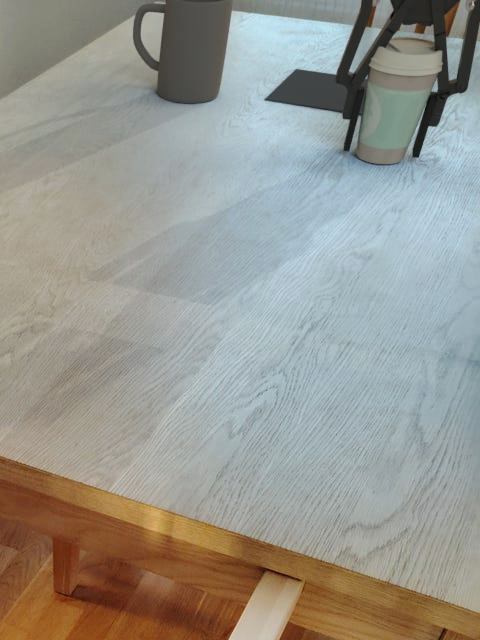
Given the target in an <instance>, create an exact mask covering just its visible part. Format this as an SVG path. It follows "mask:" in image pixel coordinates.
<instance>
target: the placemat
mask: <svg viewBox="0 0 480 640" xmlns="http://www.w3.org/2000/svg"><path fill="white" fill-rule="evenodd" d="M335 79H336V73H335V74H334V73H327V72H320V71H313V70H306V69H299V68H295V69H294V70H293V71H292V72H291V73H290V74H289V75H288V76H287V77H286V78H285V79H284V80H283V81H282V82H281V83H280V84H279V85H277V87H276V88H275V89H273V90H272V91H271V92H270V93H269V94H268V95H267V96H266V97H265V98H264V101H268V102H275V103H282V104H287V105H295V106H301V107H307V108H313V109H319V110H326V111H332V112H333V111H334V112H340V113H343V108H344V104H345V99H346V95H347V88H346V87H345V86H343V85H342V84H337V83H336V81H335ZM366 83H367V78H365V80H364V81H363V83H362V85H361V86H365V90H366ZM364 96H365V91H364ZM364 96H363V100H362V104H361V108H360V112H359V116H362V109H363V103H364Z"/></svg>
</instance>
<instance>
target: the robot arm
mask: <svg viewBox="0 0 480 640" xmlns="http://www.w3.org/2000/svg"><path fill="white" fill-rule="evenodd" d="M389 1H390V4H391V7H392V11H391V13H390V14H389V16H388V18H387V19H386V21H385V24H384V25H383V27H381V29H380V31H379V33H378V34H377V36H376V38H375V39H374V41H373V42H372V44H371V46H369V48H368V50H367V52H366V53H365V54H364V56H363V57H362V59H361V61H360V63H359V64H358V66H357V67H356V69H355V70H354V72H351V71H350V70H351V66H352V65H353V62H354V59H355V57H356V54H357V51H358V49H359V46H360V44H361V42H362V41H361V40H362V38H363V35H364V33H365V30H366V28H367V26H368V22H369V20H370V17H371V14H372V9H373V7H377V6H378V5H379V4H380V2H381V0H361V1H360V8H359V11H358V12H357V13H358V14H357V15H356V19H355V22H354V24H353V27H352V30H351V32H350V35H349V37H348V40H347V43H346V46H345V48H344V51H343V53H342V56H341V59H340V62H339V64H338V67H337V69H336V73H335V75H336V79H335V81H336V83H337V84H342V85H343V86H345V87H346V88H347V95H346V99H345V104H344V108H343V112H341V116H342V120H348V121H349V123H348V127H347V130H346V135H345V137H344V138H345V139H344V142H343V149H342V151H343V152H350V150H351V147H352V143H353V139H354V136H355V135H354V134H355V131H356V127H357V124H358V119H359V116H360V115H359V112H360V108H361V104H362V100H363V96H364V91H365V86H361V85H362V83H363V81H364V80H365V79H367V77H368V74H369V72H370V70H371V67H370V66H369V64H370V62H371V58H373V57H374V55H375V53H376V51H377V49H378V47H384V48H386V46H387V45H388V43H389V41H390V40H391V38H392V37H394V35H395V34H397V32H398V30H399V29H400V27H401V26H403V25H404V26H413V25H417V24H418V25H420V26H423V27H433V28H432V29H433V41H434V42H435V52H436V51H438V50H440V51H442V63H443V65H442V71H440V72H438V75H437V78H436V81H437V82H436V83H437V90H436V91H431V93H430V96H429V98H428V100H427V103H426V105H425V108H424V110H423V113H422V115H421V118H420V123H419V127H418V130H417V133H416V136H415V139H414V142H413V146H412V151H411V152H412V153H411V155H412V158H415V159H419V158H420V157H421V156H420V155H421V152H422V149H423V145H424V142H425V139H426V136H427V133H428V131H429V127H433V128H437V127H438V125H439V124H440V122H441V119H442V116H443V113H444V109H445V107H446V103H447V100H448V99H449V98H450V97H451V96H453V95H456V94H464V93H465V92H466V91H468V88H469V83H470V78H471V73H472V68H473V62H474V57H475V51H476V47H477V40H478V35H479V30H480V0H465V3H464V4H465V10H466V11H467V12H468V13H467V18H466V22H465V27H464V33H463V39H462V45H461V51H460V55H459V56H460V57H459V61H458V67H457V73H456V78H453V79H450V76H449V60H448V59H449V58H448V45H447V31H446V30H447V29H446V15H447V14H448V13H449V12H450V11H452V9H454V7H455V6H456V5H457V4H458V3H459V2H460V1H461V0H389Z"/></svg>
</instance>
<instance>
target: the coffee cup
mask: <svg viewBox="0 0 480 640" xmlns="http://www.w3.org/2000/svg"><path fill="white" fill-rule="evenodd" d="M442 65H443V63H442V51H440V50H438V51H436V52H435V42H434V40H431V39H429V38H422V37H415V36H393V37H392V38H391V40H390V41H389V43H388V45H387V46H386V48H384V47H378V49H377V51H376V53H375V55H374V57H373V58H371V62H370V64H369V66H370V67H371V70H370V72H369V74H368V75H367V77H366V79H367V83H366V90H365V96H364V103H363V109H362V115H360V124H359V128H358V129H359V130H358V137H357V143H356V150H355V156H356V157H357V158H358V159H360V160H361V161H364V162H367V163H370V164H375V165H376V164H377V165H394V164H398V163H400V162H402V161H403V160H404V158H405V156H406V154H407V151H408V149H409V146H410V144H411V142H412V140H413V137H414V134H415V132H416V129H417V127H418V125H419V122H420V121H421V118H422V116H423V113H424V110H425V106H426V103H427V100H428V98H429V96H430V93H431V92H433V91H432V90H433V88H434V86H435V84H436V81H437V75H438V72H440V71H442Z"/></svg>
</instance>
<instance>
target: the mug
mask: <svg viewBox="0 0 480 640" xmlns="http://www.w3.org/2000/svg"><path fill="white" fill-rule="evenodd" d="M233 4H234V0H165V3H155V2H152V3H145V4H142V5H141V6H140V7H139V8H138V9H137V11H136V13H135V16H134V19H133V24H132V25H133V26H132V41H133V45H134V48H135V50H136V51H137V54H138V55H139V56H140V58H141V59H142V61H143V62H144V63H145V65H147V66H148V67H149V68H150V69H152V70H154V71H155V72H157V80H156V81H157V82H156V83H157V84H156V91H157V94H158V96H160V97H161V98H162V99H164V100H167V101H169V102H173V103H180V104H199V103H201V104H202V103H205V102H211V101H212V100H214V99H216V98H217V97H218V96H219V93H220V91H221V85H222V78H223V72H224V68H225V67H224V66H225V60H226V55H227V54H226V53H227V47H228V40H229V33H230V27H231V19H232V12H233ZM147 13H157V14H163V20H162V28H161V36H160V37H161V39H160V48H159V56H158V57H159V59H158V60H156V59H155V58H154V57H153V56H151V54H150V53H149V51H148V50H147V48H146V47H145V45H144V43H143V41H142V25H143V19H144V16H145V15H146V14H147Z"/></svg>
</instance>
